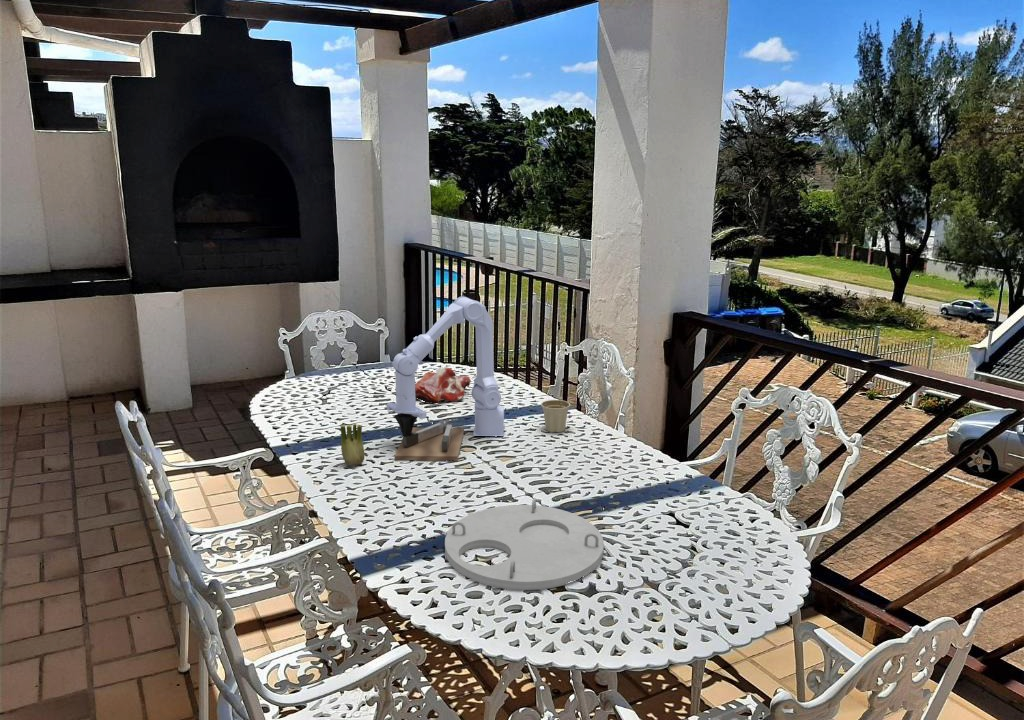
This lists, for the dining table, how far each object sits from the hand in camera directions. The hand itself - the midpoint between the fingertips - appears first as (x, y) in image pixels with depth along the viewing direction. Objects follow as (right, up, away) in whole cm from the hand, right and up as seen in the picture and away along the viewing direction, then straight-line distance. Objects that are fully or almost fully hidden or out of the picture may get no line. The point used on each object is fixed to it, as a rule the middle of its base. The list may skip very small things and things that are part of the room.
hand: (407, 436), depth 219 cm
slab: (+34, -19, -59) cm, 70 cm away
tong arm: (+6, -1, +2) cm, 6 cm away
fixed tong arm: (+12, -2, -1) cm, 12 cm away
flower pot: (+46, +1, +16) cm, 48 cm away
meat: (+5, +9, +51) cm, 52 cm away
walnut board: (+7, -3, +1) cm, 8 cm away
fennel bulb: (-13, -7, -13) cm, 20 cm away
